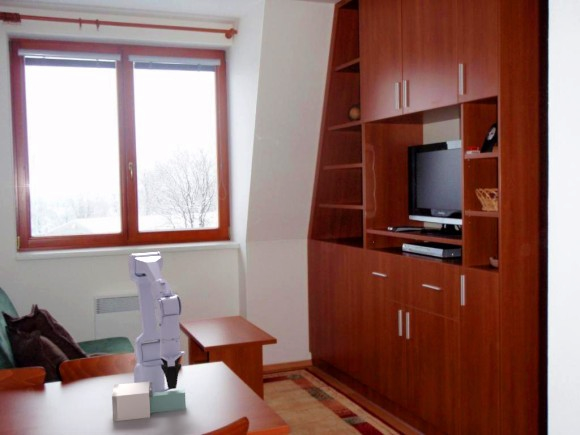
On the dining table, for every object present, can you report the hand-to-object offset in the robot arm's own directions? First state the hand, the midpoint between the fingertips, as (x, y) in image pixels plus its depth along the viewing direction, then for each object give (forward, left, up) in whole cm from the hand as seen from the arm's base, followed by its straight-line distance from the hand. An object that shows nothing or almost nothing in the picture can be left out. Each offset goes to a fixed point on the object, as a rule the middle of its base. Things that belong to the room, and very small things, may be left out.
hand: (172, 384), depth 184 cm
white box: (-8, -8, -7) cm, 14 cm away
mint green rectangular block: (-3, -3, -7) cm, 9 cm away
